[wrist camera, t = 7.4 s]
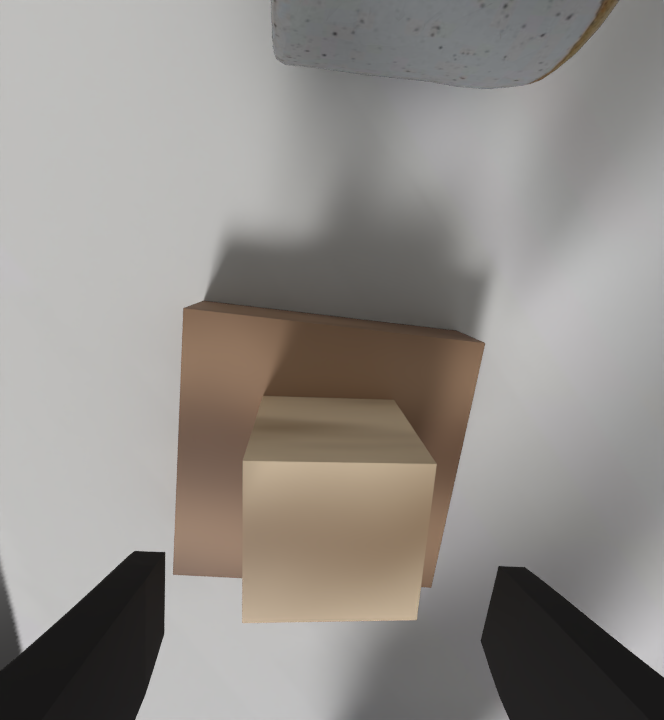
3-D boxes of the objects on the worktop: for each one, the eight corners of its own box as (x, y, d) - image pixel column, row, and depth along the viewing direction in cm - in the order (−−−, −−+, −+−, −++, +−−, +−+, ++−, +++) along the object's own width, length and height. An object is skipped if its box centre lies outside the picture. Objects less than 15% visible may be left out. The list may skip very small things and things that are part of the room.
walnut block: (411, 536, 18) (431, 587, 16) (194, 523, 18) (173, 574, 15) (452, 328, 16) (485, 343, 13) (206, 299, 15) (183, 308, 12)
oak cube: (382, 513, 15) (416, 620, 10) (261, 513, 14) (242, 622, 10) (394, 399, 14) (437, 464, 9) (263, 395, 13) (242, 460, 9)
